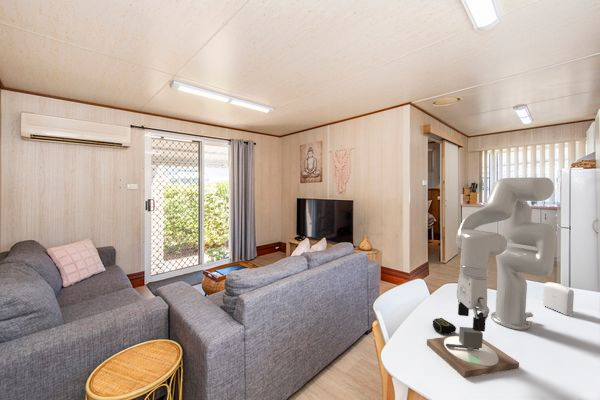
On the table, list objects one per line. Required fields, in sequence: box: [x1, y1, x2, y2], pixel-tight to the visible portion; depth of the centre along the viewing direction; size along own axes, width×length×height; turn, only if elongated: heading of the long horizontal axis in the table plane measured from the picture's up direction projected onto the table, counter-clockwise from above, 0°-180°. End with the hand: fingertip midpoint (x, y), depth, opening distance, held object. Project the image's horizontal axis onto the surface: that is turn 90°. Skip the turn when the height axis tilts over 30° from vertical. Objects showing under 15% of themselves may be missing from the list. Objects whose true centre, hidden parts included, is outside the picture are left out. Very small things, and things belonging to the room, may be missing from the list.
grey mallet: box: [446, 326, 484, 351], centre depth 85 cm, size 10×3×6 cm, turn 82°
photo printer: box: [542, 281, 575, 316], centre depth 117 cm, size 10×4×12 cm, turn 13°
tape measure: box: [432, 317, 457, 335], centre depth 100 cm, size 7×7×4 cm
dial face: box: [444, 335, 499, 366], centre depth 85 cm, size 15×15×1 cm
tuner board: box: [426, 334, 520, 379], centre depth 85 cm, size 20×16×2 cm
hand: (470, 322), depth 84 cm, fingers open, 9 cm apart
